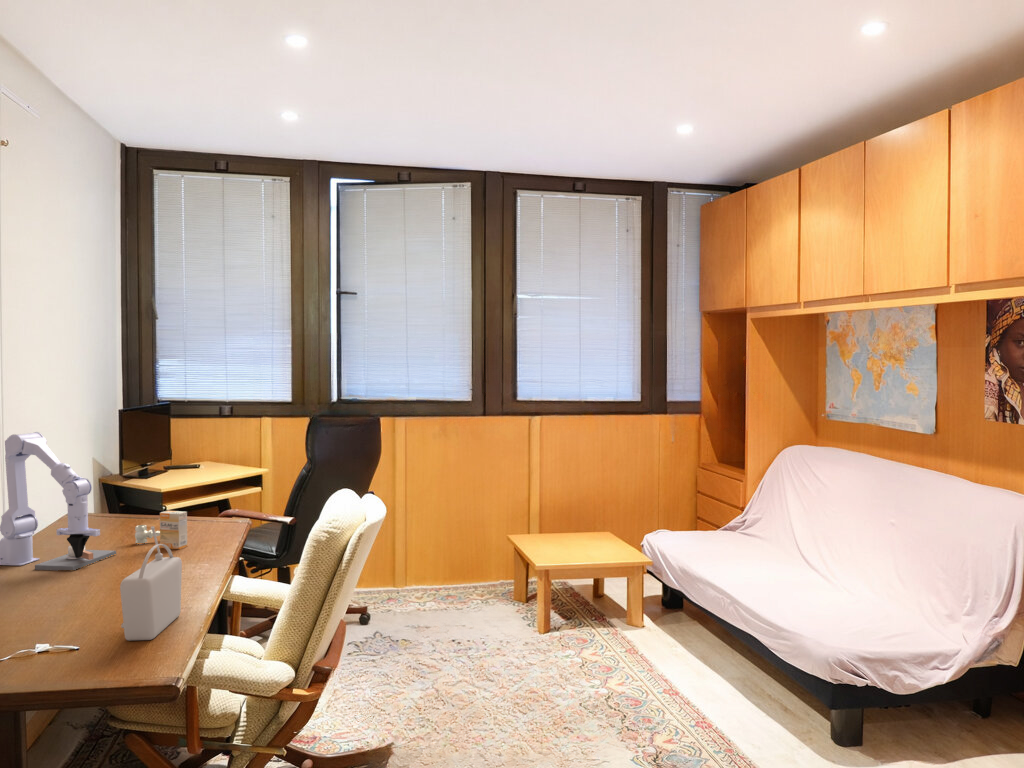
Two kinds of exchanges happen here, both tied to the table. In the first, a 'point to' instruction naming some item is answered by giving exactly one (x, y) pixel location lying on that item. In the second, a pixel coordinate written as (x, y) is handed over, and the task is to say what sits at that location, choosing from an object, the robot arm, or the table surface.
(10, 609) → the table surface
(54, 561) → the base plate
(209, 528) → the table surface
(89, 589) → the table surface
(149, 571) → the grey handbag
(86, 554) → the handle
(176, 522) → the supplement box
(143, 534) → the valve
